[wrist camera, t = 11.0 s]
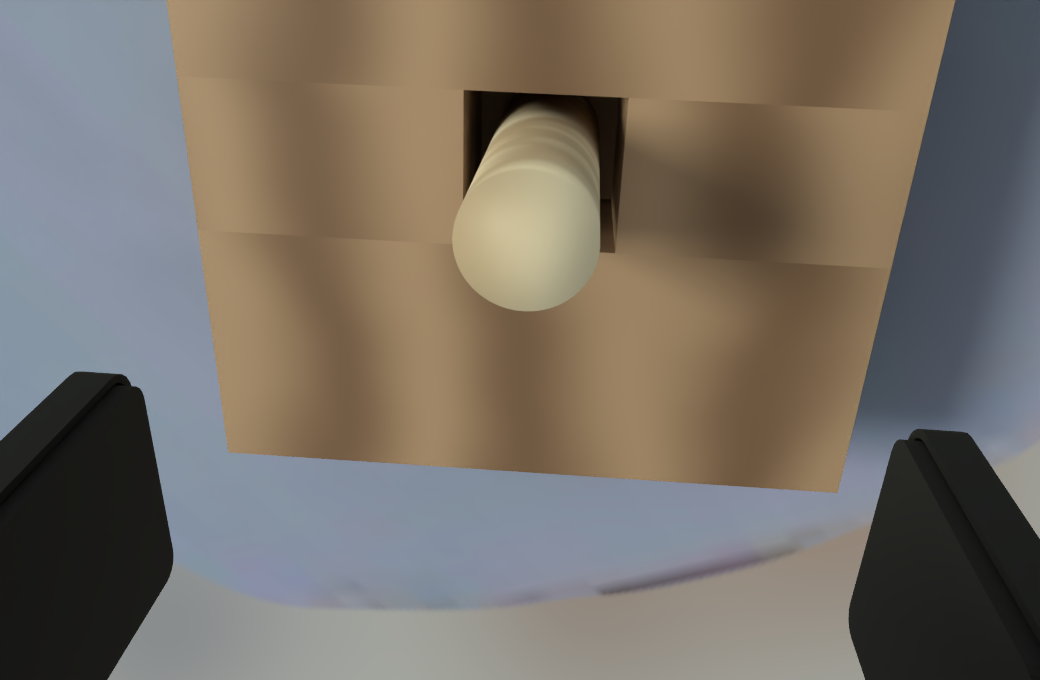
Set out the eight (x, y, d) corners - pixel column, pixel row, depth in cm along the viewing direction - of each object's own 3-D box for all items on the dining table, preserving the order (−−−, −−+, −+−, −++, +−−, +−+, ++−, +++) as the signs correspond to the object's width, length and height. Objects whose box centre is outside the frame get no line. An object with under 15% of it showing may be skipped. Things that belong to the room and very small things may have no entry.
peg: (602, 83, 28) (605, 174, 18) (595, 181, 30) (595, 315, 20) (502, 78, 29) (451, 166, 19) (500, 176, 30) (452, 307, 20)
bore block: (922, -215, 25) (1013, -243, 20) (798, 398, 34) (837, 492, 29) (223, -237, 26) (129, -270, 21) (282, 366, 35) (228, 452, 30)
